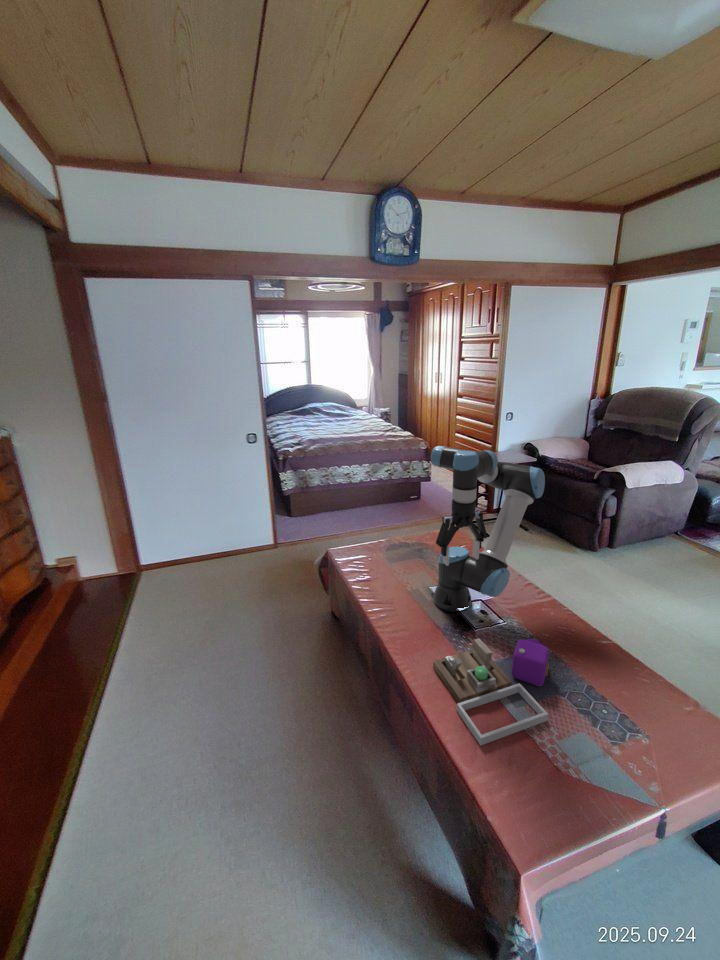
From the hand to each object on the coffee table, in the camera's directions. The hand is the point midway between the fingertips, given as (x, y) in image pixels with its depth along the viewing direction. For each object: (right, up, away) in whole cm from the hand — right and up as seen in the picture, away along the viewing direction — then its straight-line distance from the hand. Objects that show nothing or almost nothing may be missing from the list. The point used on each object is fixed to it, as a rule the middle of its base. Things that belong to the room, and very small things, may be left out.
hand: (460, 560), depth 137 cm
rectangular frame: (+6, -39, -22) cm, 46 cm away
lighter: (-5, -35, -8) cm, 36 cm away
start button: (+2, -33, -14) cm, 36 cm away
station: (+1, -35, -9) cm, 36 cm away
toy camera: (+20, -34, -7) cm, 40 cm away
